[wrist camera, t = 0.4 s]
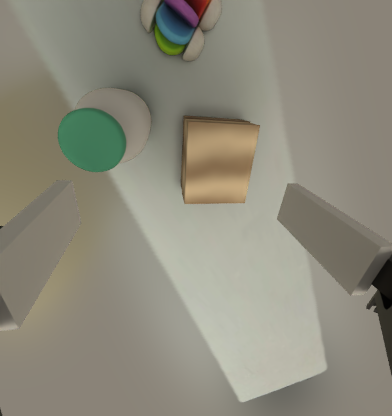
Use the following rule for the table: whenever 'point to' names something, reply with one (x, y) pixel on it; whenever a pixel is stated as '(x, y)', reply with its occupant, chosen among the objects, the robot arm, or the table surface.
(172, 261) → the table surface
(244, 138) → the tower top
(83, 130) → the milk bottle
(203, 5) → the multicoloured petal toy
